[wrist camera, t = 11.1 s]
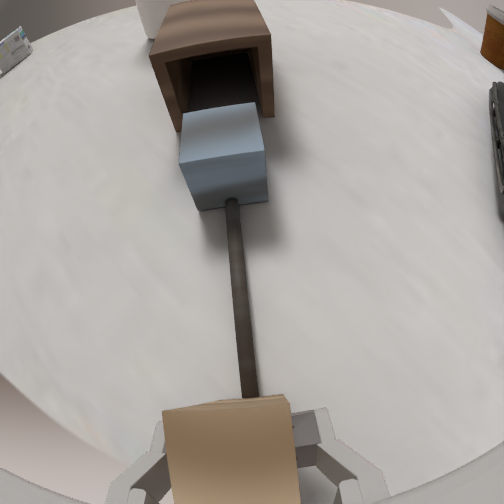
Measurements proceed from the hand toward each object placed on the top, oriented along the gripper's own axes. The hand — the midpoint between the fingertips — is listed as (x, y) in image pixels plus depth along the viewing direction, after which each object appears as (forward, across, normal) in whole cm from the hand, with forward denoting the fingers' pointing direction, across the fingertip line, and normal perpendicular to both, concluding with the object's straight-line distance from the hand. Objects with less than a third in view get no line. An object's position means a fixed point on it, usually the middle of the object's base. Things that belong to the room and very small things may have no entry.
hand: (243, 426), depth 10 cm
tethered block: (+9, 0, +2) cm, 10 cm away
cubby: (+25, 0, +17) cm, 30 cm away
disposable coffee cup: (+36, +53, +27) cm, 69 cm away
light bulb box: (+62, -62, +54) cm, 103 cm away
